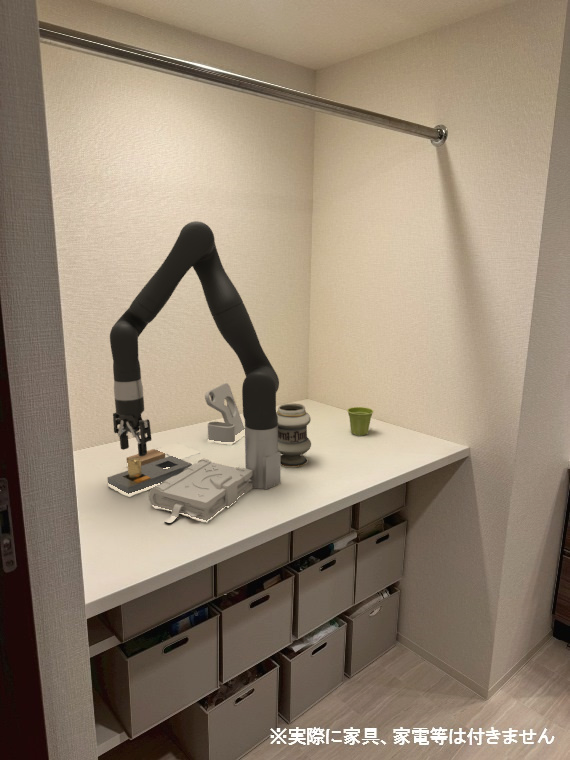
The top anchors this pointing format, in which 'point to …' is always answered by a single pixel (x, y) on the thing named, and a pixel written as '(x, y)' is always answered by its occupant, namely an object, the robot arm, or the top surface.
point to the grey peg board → (149, 474)
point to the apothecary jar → (293, 434)
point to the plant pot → (359, 420)
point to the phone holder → (224, 414)
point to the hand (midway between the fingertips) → (133, 452)
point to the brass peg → (134, 468)
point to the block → (149, 456)
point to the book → (201, 489)
